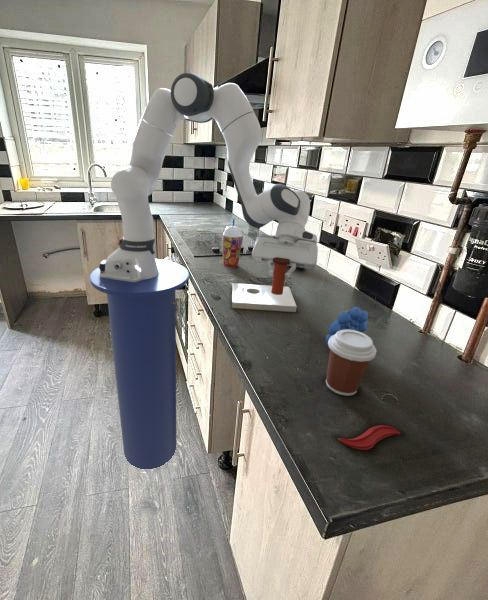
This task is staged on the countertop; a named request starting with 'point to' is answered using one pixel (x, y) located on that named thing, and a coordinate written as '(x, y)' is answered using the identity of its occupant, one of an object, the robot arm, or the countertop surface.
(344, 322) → the grapes
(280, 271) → the stopper
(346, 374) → the coffee cup
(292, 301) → the sink floor
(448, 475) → the countertop surface
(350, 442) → the cayenne pepper
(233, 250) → the smoothie
